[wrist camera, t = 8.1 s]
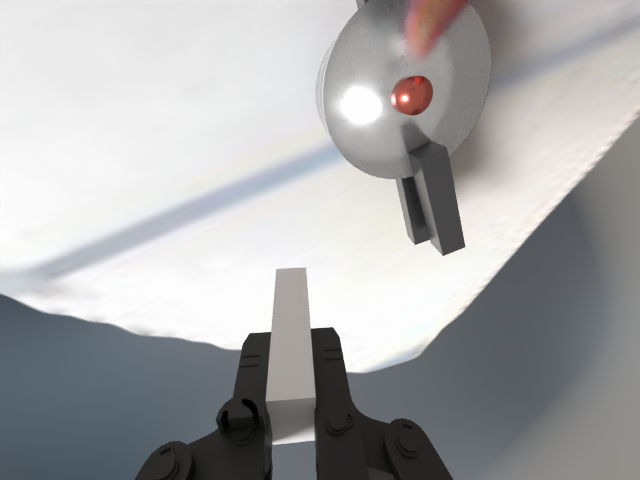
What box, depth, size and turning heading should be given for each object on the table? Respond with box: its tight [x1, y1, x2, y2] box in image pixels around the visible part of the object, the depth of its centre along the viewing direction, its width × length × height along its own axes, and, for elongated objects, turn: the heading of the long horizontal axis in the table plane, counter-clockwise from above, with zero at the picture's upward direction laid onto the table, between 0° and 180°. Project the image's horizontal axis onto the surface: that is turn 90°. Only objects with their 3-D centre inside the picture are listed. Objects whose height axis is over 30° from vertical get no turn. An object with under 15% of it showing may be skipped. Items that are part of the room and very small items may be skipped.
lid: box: [322, 0, 491, 256], centre depth 26 cm, size 25×16×4 cm, turn 24°
